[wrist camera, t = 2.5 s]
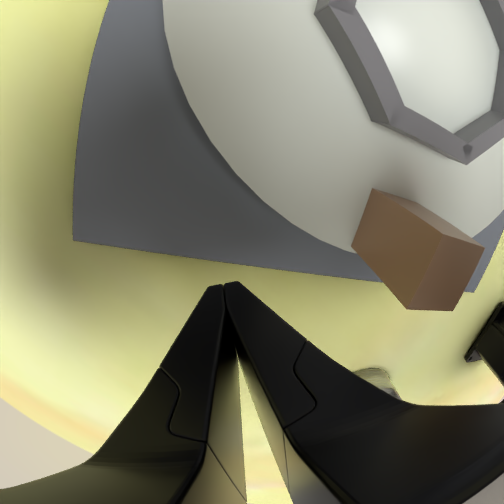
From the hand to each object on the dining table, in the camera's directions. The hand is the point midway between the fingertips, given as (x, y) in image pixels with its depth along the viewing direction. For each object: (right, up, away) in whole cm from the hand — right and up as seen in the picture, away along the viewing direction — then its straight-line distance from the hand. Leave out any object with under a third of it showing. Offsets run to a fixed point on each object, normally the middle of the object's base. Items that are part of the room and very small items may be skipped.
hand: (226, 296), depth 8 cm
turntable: (+8, +11, 0) cm, 14 cm away
